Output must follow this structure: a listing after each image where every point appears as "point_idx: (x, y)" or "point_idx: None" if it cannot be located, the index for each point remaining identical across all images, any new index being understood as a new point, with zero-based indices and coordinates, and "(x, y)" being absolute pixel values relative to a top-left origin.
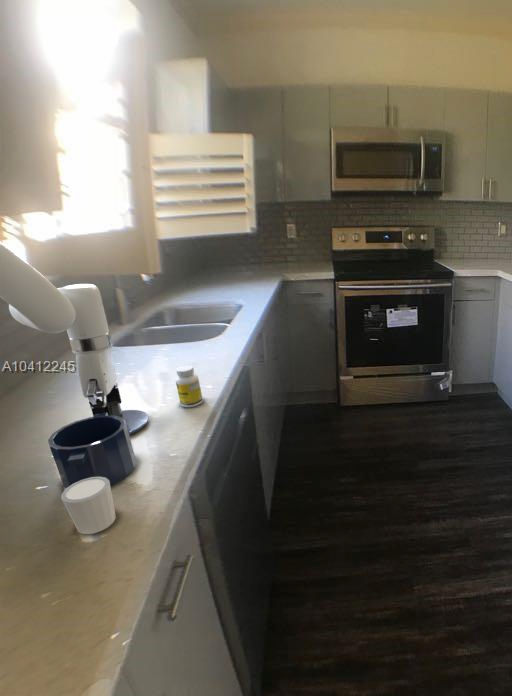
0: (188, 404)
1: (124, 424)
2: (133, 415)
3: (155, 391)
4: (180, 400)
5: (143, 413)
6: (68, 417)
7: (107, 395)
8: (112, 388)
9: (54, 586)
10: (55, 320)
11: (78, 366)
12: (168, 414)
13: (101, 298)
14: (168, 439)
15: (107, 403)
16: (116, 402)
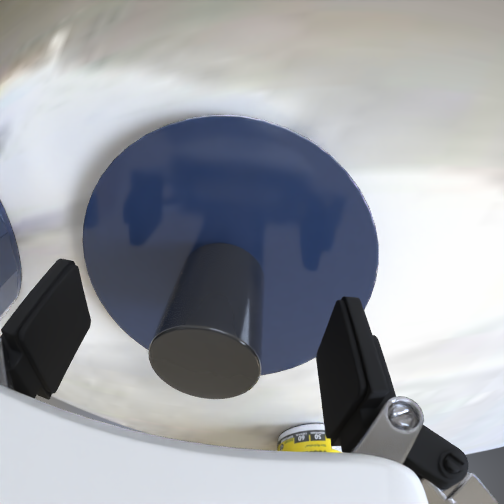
0: (279, 442)
1: None
2: (277, 339)
3: (480, 358)
4: (302, 441)
5: (276, 367)
6: (482, 45)
7: (344, 369)
8: (343, 437)
9: None
10: None
11: None
12: (262, 401)
13: None
14: (92, 379)
15: (228, 355)
16: (221, 390)
